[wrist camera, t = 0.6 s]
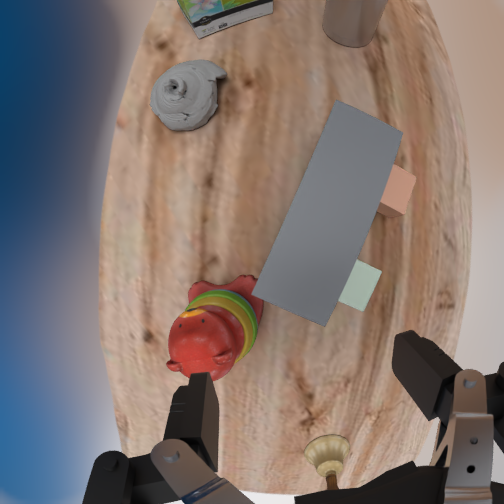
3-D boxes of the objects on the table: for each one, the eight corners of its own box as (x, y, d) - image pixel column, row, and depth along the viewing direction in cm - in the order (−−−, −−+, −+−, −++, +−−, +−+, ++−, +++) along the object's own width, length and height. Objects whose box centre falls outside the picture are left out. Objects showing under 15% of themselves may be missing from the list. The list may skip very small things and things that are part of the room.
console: (321, 139, 39) (336, 99, 26) (370, 162, 39) (403, 132, 26) (260, 277, 41) (251, 294, 28) (311, 300, 40) (324, 326, 27)
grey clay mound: (232, 128, 43) (219, 121, 33) (163, 136, 44) (134, 133, 34) (229, 61, 39) (216, 37, 29) (161, 71, 41) (134, 54, 31)
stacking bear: (259, 272, 41) (243, 295, 23) (270, 339, 41) (262, 402, 24) (187, 282, 42) (128, 309, 24) (200, 347, 42) (154, 405, 25)
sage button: (342, 254, 35) (351, 256, 30) (369, 267, 35) (382, 271, 30) (325, 290, 36) (332, 298, 31) (352, 302, 35) (363, 311, 30)
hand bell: (317, 471, 41) (323, 532, 26) (295, 447, 42) (297, 513, 26) (356, 452, 41) (375, 512, 25) (337, 427, 41) (354, 491, 25)
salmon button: (375, 170, 34) (388, 161, 29) (401, 184, 34) (416, 177, 29) (363, 204, 35) (375, 199, 30) (389, 217, 35) (404, 214, 30)
